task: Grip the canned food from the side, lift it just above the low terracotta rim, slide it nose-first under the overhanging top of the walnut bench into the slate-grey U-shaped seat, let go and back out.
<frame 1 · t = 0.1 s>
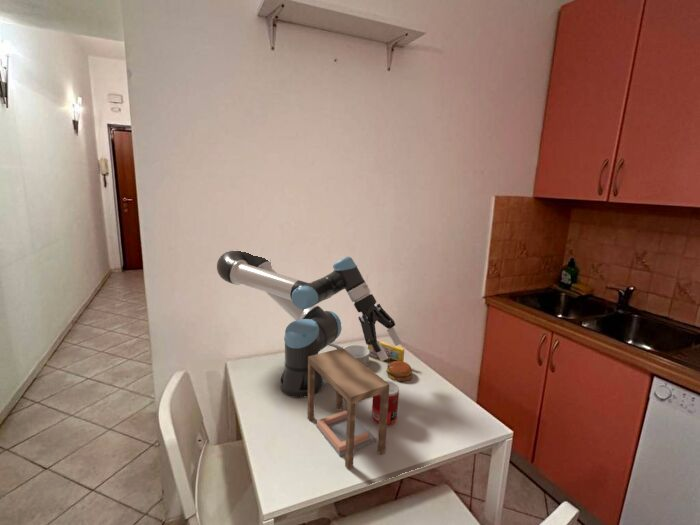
hand: (392, 351, 127), 15 cm above the table, tool tilted 35°, fingers open, 13 cm apart
candy box: (384, 362, 151), on the table
burger: (398, 376, 141), on the table
bench: (346, 433, 108), on the table
canned food: (384, 419, 115), on the table
seat: (346, 433, 108), on the table
saucepan: (346, 361, 151), on the table
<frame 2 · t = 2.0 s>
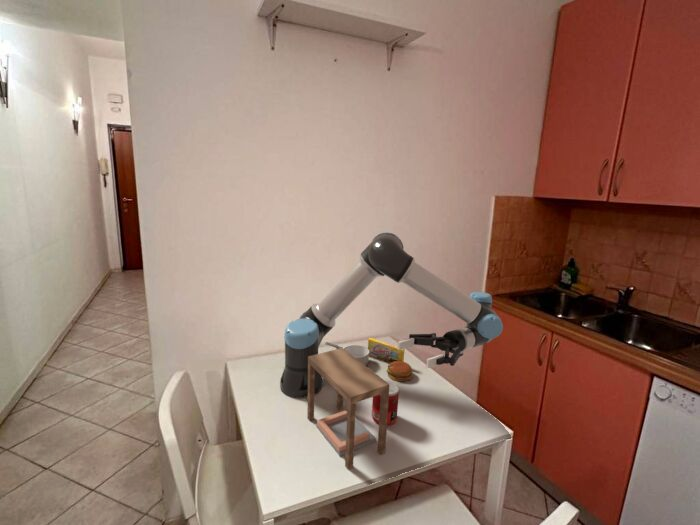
hand: (412, 354, 116), 20 cm above the table, tool horizontal, fingers open, 13 cm apart
nothing on the table moved.
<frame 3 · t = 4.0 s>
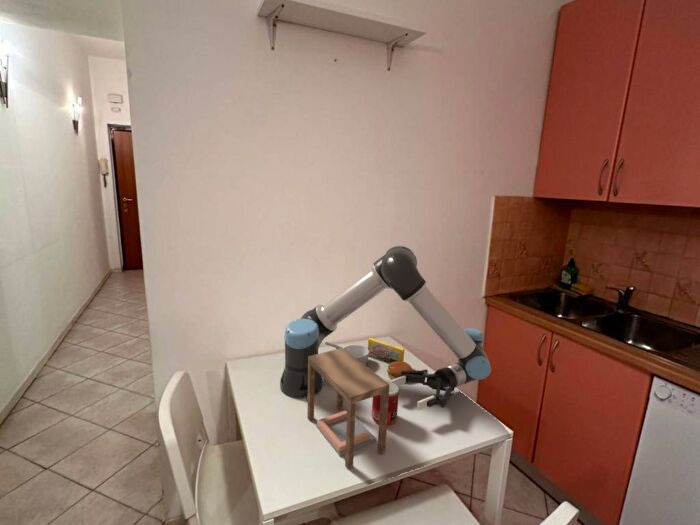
hand: (403, 394, 117), 6 cm above the table, tool horizontal, fingers open, 13 cm apart
nothing on the table moved.
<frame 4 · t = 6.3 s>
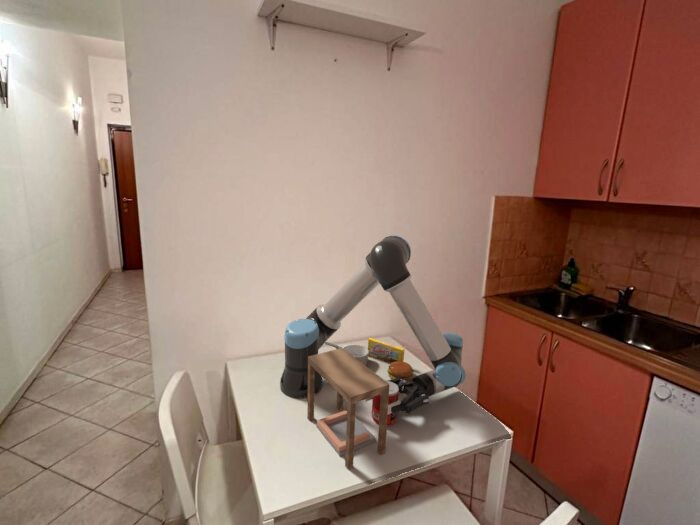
hand: (373, 404, 111), 7 cm above the table, tool horizontal, fingers closed on canned food, 8 cm apart
canned food: (384, 418, 115), on the table, touching gripper
everything else where it was.
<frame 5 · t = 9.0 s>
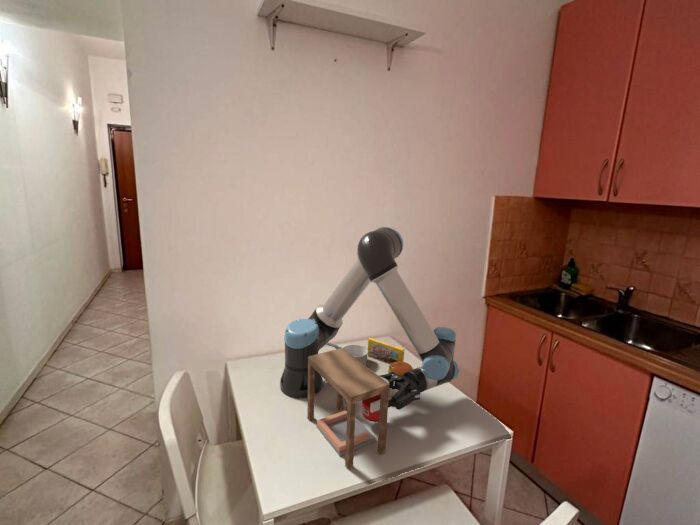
hand: (362, 400, 107), 10 cm above the table, tool horizontal, fingers closed on canned food, 8 cm apart
canned food: (374, 415, 111), point 3 cm above the table, touching gripper
everything else where it was.
when the fingers open (8 cm above the table, at t = 12.0 s): canned food stays where it is, resting on seat.
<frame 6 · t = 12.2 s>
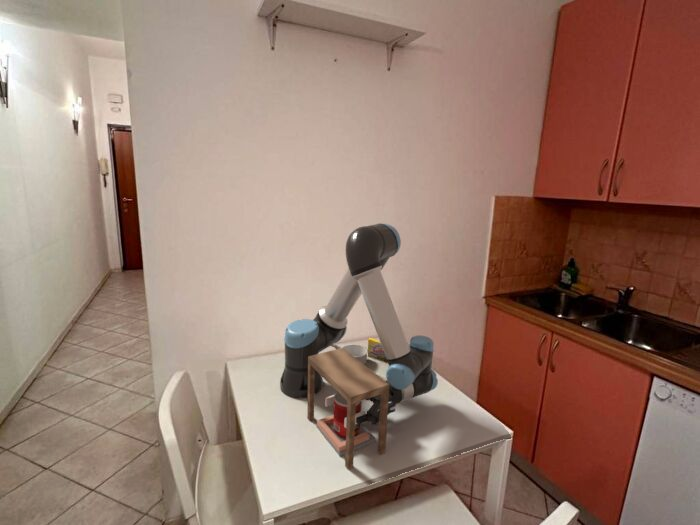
hand: (335, 412, 104), 8 cm above the table, tool horizontal, fingers open, 10 cm apart
canned food: (346, 430, 108), point 1 cm above the table, touching seat
everything else where it was.
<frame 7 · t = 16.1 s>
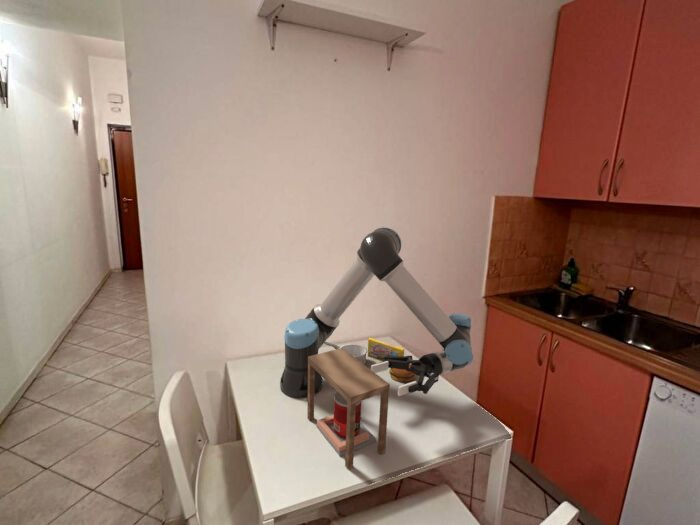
hand: (384, 380, 111), 14 cm above the table, tool horizontal, fingers open, 13 cm apart
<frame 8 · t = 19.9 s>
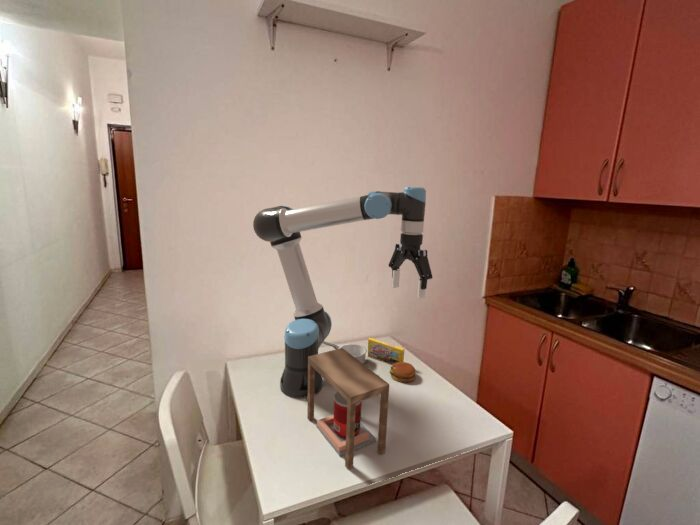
hand: (407, 292, 129), 35 cm above the table, tool pointing down, fingers open, 13 cm apart
at the end: canned food 0.0 cm off-centre on the seat, point 0.8 cm above the seat's base; canned food tilted 0°; the gripper is holding nothing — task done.
